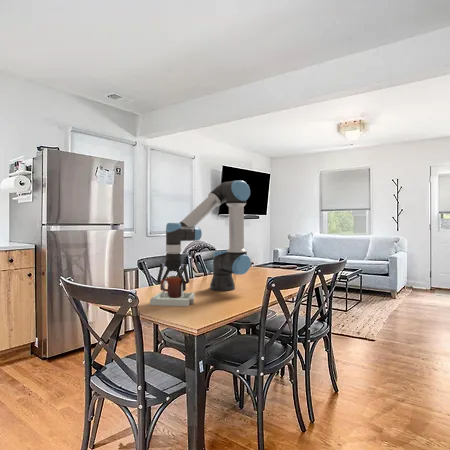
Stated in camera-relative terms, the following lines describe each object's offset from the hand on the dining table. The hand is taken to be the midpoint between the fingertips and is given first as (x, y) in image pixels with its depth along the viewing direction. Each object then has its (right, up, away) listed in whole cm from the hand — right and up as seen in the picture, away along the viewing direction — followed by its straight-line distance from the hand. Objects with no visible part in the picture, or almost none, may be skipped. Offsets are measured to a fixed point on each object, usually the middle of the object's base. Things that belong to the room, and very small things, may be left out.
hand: (173, 296), depth 182 cm
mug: (-1, 0, 0) cm, 1 cm away
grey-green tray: (0, -3, 0) cm, 3 cm away
